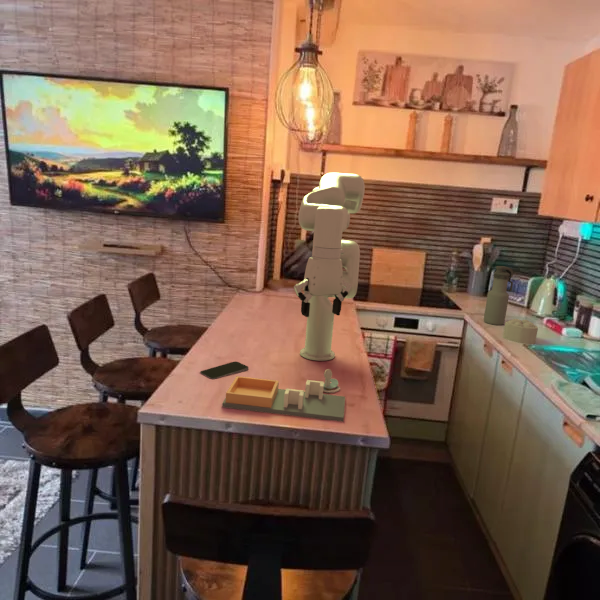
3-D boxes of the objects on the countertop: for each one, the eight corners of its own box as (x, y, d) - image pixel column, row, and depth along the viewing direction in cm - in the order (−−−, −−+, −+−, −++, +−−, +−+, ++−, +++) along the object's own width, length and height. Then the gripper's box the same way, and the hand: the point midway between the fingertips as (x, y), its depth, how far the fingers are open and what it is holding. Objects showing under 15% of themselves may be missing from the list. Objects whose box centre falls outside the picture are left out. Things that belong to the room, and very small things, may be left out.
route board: (234, 387, 155) (235, 371, 154) (344, 400, 152) (346, 383, 151) (222, 407, 142) (223, 389, 140) (343, 421, 139) (345, 403, 138)
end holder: (236, 384, 154) (236, 376, 154) (278, 389, 153) (278, 380, 152) (225, 402, 142) (226, 392, 141) (271, 407, 141) (271, 398, 140)
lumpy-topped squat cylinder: (510, 334, 238) (513, 316, 236) (539, 342, 229) (542, 323, 227) (500, 337, 231) (503, 319, 229) (529, 346, 222) (533, 326, 220)
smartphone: (198, 371, 165) (235, 360, 175) (198, 374, 165) (235, 363, 175) (212, 378, 160) (249, 367, 170) (212, 382, 160) (249, 370, 170)
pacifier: (344, 390, 160) (330, 383, 164) (346, 371, 158) (332, 365, 162) (328, 396, 155) (313, 389, 159) (330, 376, 153) (316, 369, 157)
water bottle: (495, 319, 262) (505, 265, 256) (509, 325, 254) (519, 268, 247) (479, 320, 259) (488, 264, 253) (491, 325, 250) (501, 268, 244)
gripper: (346, 251, 147) (340, 310, 151) (291, 251, 139) (286, 312, 143) (360, 255, 141) (354, 317, 144) (303, 255, 133) (298, 320, 137)
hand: (320, 315), depth 144 cm, fingers open, 9 cm apart
